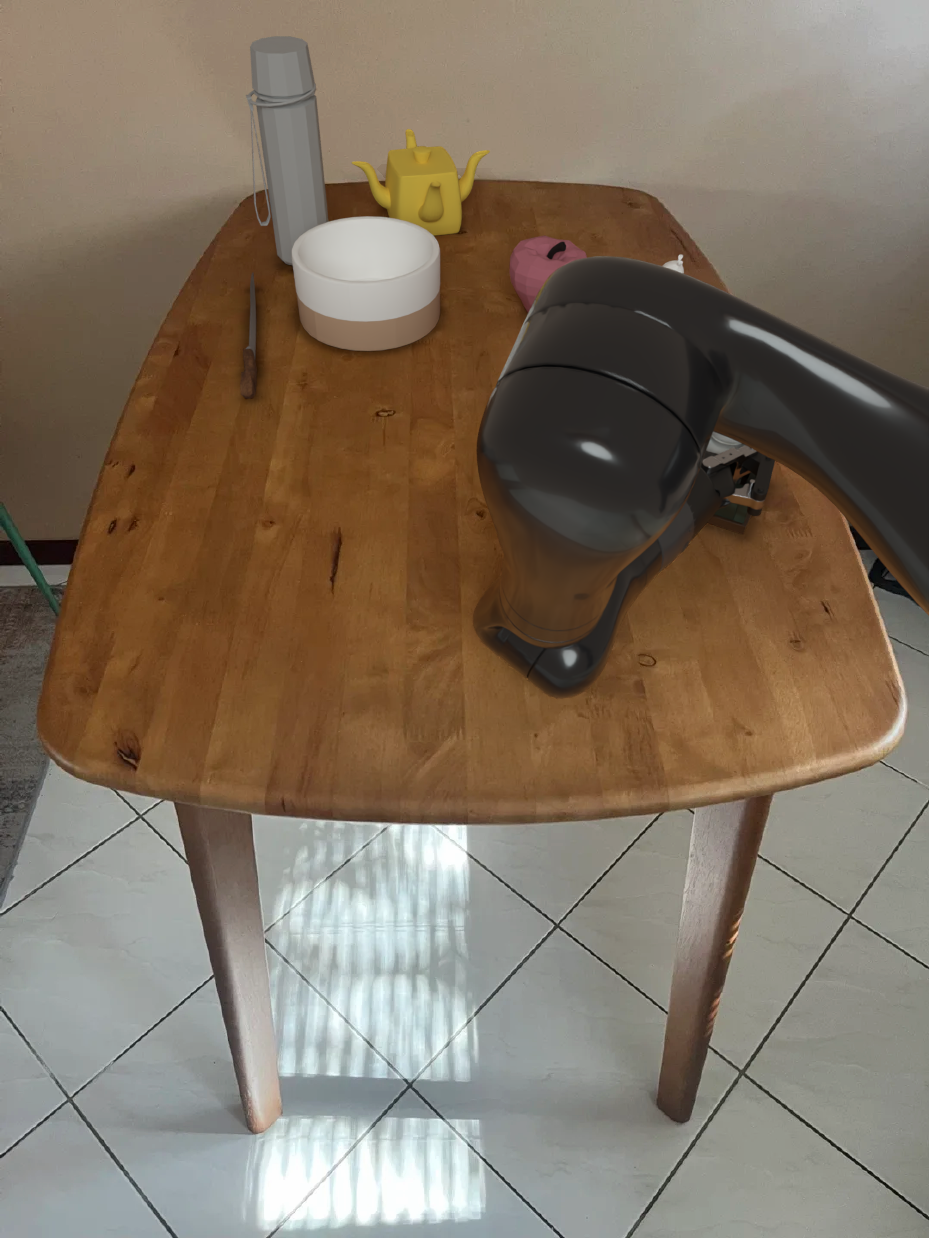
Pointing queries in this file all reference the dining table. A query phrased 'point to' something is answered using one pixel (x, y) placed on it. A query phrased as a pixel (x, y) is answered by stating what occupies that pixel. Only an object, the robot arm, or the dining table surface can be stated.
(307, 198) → the water bottle
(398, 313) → the bowl
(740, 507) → the dock
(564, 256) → the apple
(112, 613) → the dining table surface
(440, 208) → the teapot
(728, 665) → the dining table surface
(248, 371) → the knife
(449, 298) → the dining table surface
